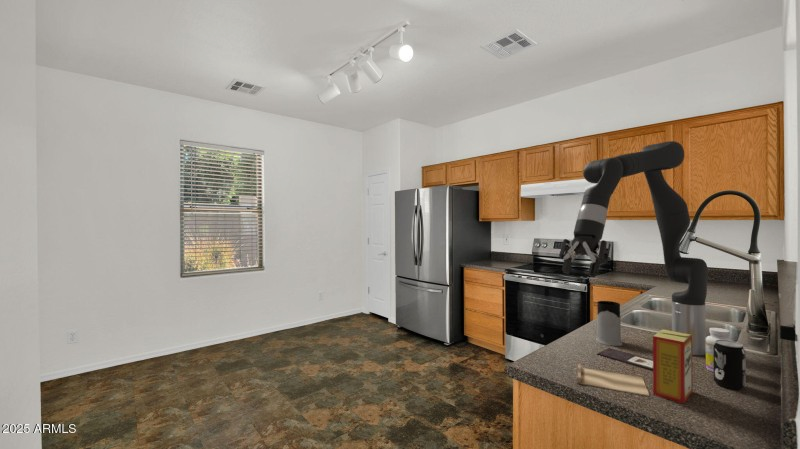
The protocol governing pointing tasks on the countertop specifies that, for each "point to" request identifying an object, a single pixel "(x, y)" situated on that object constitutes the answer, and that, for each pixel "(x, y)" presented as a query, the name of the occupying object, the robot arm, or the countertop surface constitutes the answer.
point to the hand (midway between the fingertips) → (578, 274)
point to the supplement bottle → (710, 341)
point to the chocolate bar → (628, 358)
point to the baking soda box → (672, 365)
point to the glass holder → (609, 323)
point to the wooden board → (612, 381)
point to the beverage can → (729, 364)
